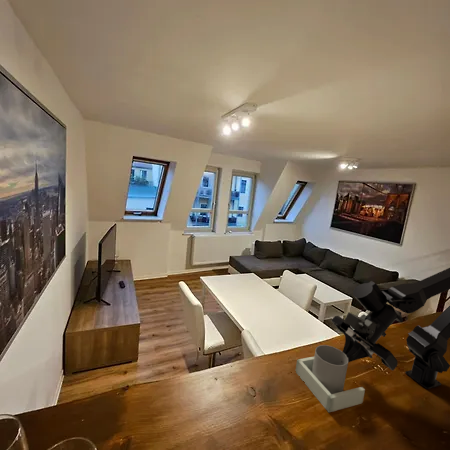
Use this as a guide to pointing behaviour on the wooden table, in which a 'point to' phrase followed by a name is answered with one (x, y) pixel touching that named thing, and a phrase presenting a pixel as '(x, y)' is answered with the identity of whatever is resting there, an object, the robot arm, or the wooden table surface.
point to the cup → (330, 367)
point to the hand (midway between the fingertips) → (341, 362)
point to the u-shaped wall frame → (321, 393)
